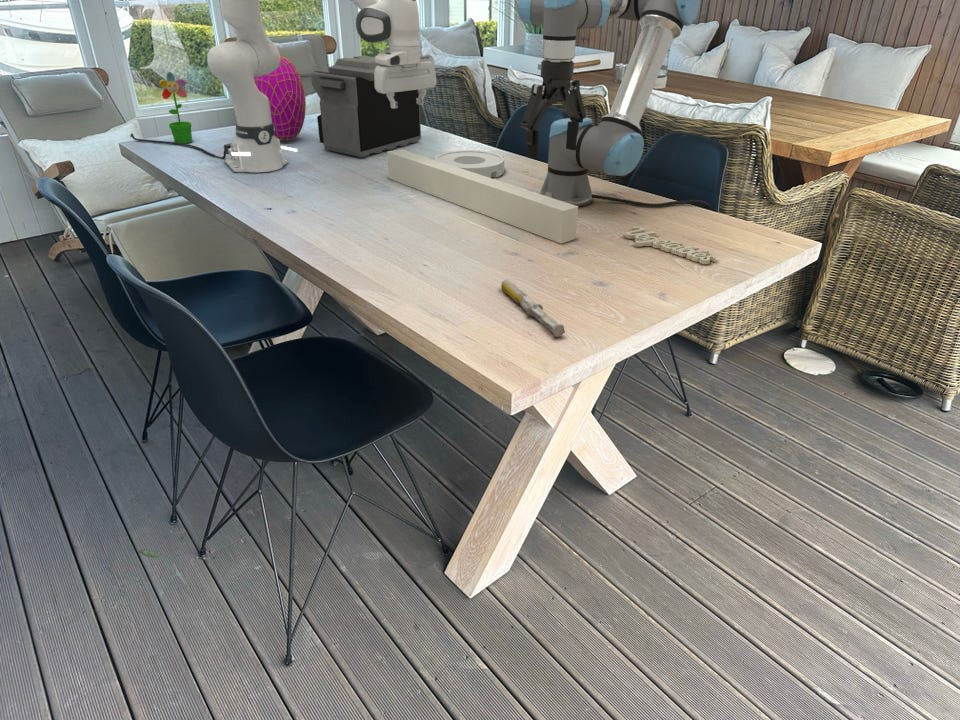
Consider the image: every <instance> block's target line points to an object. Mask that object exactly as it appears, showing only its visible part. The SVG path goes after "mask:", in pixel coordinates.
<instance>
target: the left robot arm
mask: <svg viewBox="0 0 960 720" xmlns="http://www.w3.org/2000/svg"><path fill="white" fill-rule="evenodd" d="M350 2H352V3H353V4H354V5H355V6H356V7H357V8H358V9H359V12H357V15H356V17H355V28H356V29H355V30H356V32H357V34H358V37H360V38H361V39H362V40H363V41H365V42H366V43H370V44H378V43H383V42H388V44H389V45H388V46H389V48H388V49H387V50H384V51H383V52H381V53H379V54H377V55H376V56H374V57H375V63H376V64H379V65H377V66H376V68H375V74H374V82H375V89H376V91H377V92H378V93H382V94H385V93H386V94H387V97H388V99H389V101H390V105H391V108H393V109H395V108H398V102H396V101H395V100H394V98H393V96H394V92H401V91H409V90H417V89H419V97H418V98H416V101H417V102H416V103H417V105H420V106H422V105H424V99H425V96H426V94H427V89H432V88H433V89H434V88H435V87H436V85H437V73H436V68H435V67H436V66H435V58H434V57H433V56H432V55H431V54H430V53H429V54H421V41H420V38H419V35H420V34H419V33H420V27H421V26H420V13H419V6H418V2H417V0H350ZM219 3H220V12H221V13H220V14H221V17H222V19H223V20H224V22H226V23H227V24H228V25H229V26H231V27H232V29H233V30H234V34H235V36H236V40H233V41H232V40H231V41H224V42H221V43H219V44H217V45H215V46H213V47H211V48H210V49H209V51H208V52H207V56H206V61H207V66H208V68H209V71H210V72H211V74H212V75H213V76H214V77H215V79H217V80H219V81H220V82H221V83H222V84H223V85H224V86H225V88H226V90H227V92H228V94H229V96H230V98H231V102H232V106H233V110H234V114H235V115H234V116H235V120H236V124H235V136H236V137H235V138H234V139H233V141H232V142H230V143H226V144H223V148H224V150H223V156H218V155H215V154H214V153H211V152H209V151H207V150H205V149H204V148H201V147H199V146H196V145H193V144H189V143H176V142H175V141H166V140H155V139H143V138H137V137H135V135H134V133H130V138H132V139H133V140H134V141H137V142H147V143H155V144H157V143H158V144H167V145H178V146H184V147H189V148H193V149H197V150H199V151H202V152H204V153H205V154H207V155H208V156H211V157H214V158H215V159H221V160H224V159H225V160H224V163H225V164H226V165H227V166H228V168H230V169H231V171H233V172H234V173H257V174H258V173H268V172H273V171H277V170H278V171H279V170H280V169H282V168H284V165H288V160H287V159H285V158H284V156H283V150H287V151H291V152H296V153H297V152H298V148H293V147H288V146H285V145H281V141H280V140H279V139H278V138H276V137H275V127H274V124H273V122H272V118H271V111H270V104H269V99H268V97H267V96H266V95H265V94H263V93H262V92H260V91H259V90H258V88H257V86H256V84H255V81H254V77H260V76H265V75H268V74H270V73H272V72H273V71H275V70H276V69H277V68H278V67H279V65H280V56H281V53H280V51H279V49H278V47H277V45H276V44H275V43H274V42H273V41H271V39H270V37H268V35H267V32H266V30H265V28H264V25H263V21H262V17H261V9H260V8H261V7H260V0H219ZM227 155H229V157H228V158H226V156H227Z"/></svg>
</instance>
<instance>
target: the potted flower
mask: <svg viewBox="0 0 960 720" xmlns="http://www.w3.org/2000/svg"><path fill="white" fill-rule="evenodd" d="M165 78H166V79H161V80H159V84H158V85H159V87H160V88H162V89H163V90H162V93H161V97H162V99H164V100H167V99H169V98H171V96H173V101H174V106H175V108H171V109H170V110H168V113H169V114H171V115H176V116H177V120H178V121H174V122H170V123H168V126H169V129H170V130H171V134H172V138H173V142H176V143H183V144H189V143H192V142H193V134H192V122H191V121H181V117H180V113H179V109H181V108H182V106H183V104H182V103H178V102H177V98H176V97H177V96H179V97H180V98H187V97H188V93H187V91H186V90H185V89H183V87H185V86H186V85H187V84H188V82H187V81H186V80H185V79H183V78H177V79H176V77H175V74H174V73H173V72H172V71H167V73H166V76H165Z"/></svg>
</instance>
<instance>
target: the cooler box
mask: <svg viewBox="0 0 960 720" xmlns="http://www.w3.org/2000/svg"><path fill="white" fill-rule="evenodd" d="M375 57H376V56H367V55H356V56H353V57H350V58H349V57H343V58H342V57H341V58H337V59H336V60H335V63H334V64H333V65H330V66H329V67H328V72H327V71H320V70H314V71H313V70H312V71H310V79H311V87H313V90H314V91H315V93H316V94H317V96H318V98H319V110H320V111H319V112H320V114H319V115H317V116H316V119H317V128H318V138H319V143H320V144H323V146H324V149H325V150H327V151H330V152H335V153H340V154H344V155H348V156H353V157H357V158H362V159H363V158H366V157H367V158H368V157H369V155H371V154H375V155H377V154H381V153H382V152H383V151H392V150H395V149H396V148H397V147H405V146H407V145H408V144H416V143H418V142H419V141H421V137H422V128H421V105H417V103H416V102H417V101H416V98H418V97H419V94H420V92H419V89H417V90H409V91H401V92H394V96H393V98H394V100H395V101H396V102H398V108H395V109H393V108H391V105H390V101H389V99H388V97H387V94H386V93H385V94H382V93H378V92H377V91H376V89H375V82H374V74H375V68H376V66H377V65H379V64H376V63H375Z"/></svg>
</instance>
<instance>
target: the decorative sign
mask: <svg viewBox="0 0 960 720" xmlns="http://www.w3.org/2000/svg"><path fill="white" fill-rule="evenodd" d="M624 238H626V239H629V240H630V239H631V240H634V247H636V248H639V247H653V248H655V249H660V250H661V251H663V252H667V253H671V254H673V255H677V256H679V257H685V259H687V260H691V261H693V262H696V263H697V262H698V263H700V264H702V265H709V264H710V261H711V262H712V263H715V262H716V258H717V257H716V256H715V255H711V254H710V250H709V249H700V247H699V246H697V245H696V246H686V247H685V246H684V245H683V243H682V242H681V241H677V240H676V241H675V240H673V239H667V240H666V239H662V238H658V237H657V232H656V231H645V228H643V227H639V226H631V229H630V231H625V234H624ZM709 254H710V255H709Z"/></svg>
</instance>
